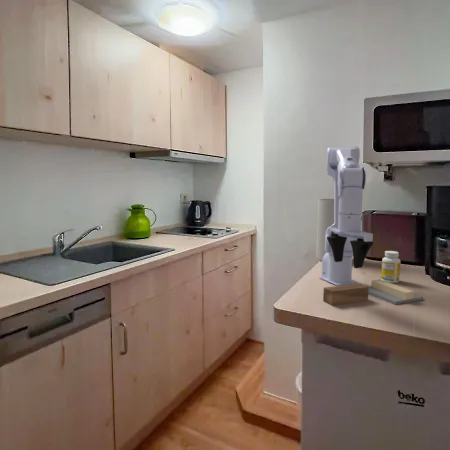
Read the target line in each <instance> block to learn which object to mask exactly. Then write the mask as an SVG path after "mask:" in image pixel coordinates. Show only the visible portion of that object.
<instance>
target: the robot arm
mask: <svg viewBox="0 0 450 450" xmlns="http://www.w3.org/2000/svg"><path fill="white" fill-rule="evenodd" d="M360 153H361V150H360V147H359V146H356V145H355V146H338V147H337V146H336V147H335V146H333V147H331V146H329V147H328V148H327V150H326V172H327V175H328V176H330V177H331V178H332V180H333V184H334V186H333V190H334V191H333V193H334V194H333V195H334V196H333V199H334V224H333V225H331V226H330V227H328V228H327V230H326V233H325V251H326V254H325V255H324V256H323V259H322V261H321V262H322V263H321V276H319V279H322V281H326V282H327V283H330V284H333V285H334V286H340V285H348V284H356V283H359V282H358V280H357V281H356V280H355V279H352V278H353V277H352V276H353V275H352V274H353V267H354V268H355V269H360V268H363V265H364V263H365V259H366V257H367V254H368V253H369V251H370V249H371V248H372V247H373V245H374V240H373V238H374V233H371V232H367V231H363V230H362V215H363V213H362V212H363V211H362V209H363V193H364V190H365V187H366V184H367V173H366V167H364V166H361V167H360V164H359V163H360V159H361V158H360V156H361V155H360Z"/></svg>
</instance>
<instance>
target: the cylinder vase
mask: <svg viewBox="0 0 450 450" xmlns="http://www.w3.org/2000/svg"><path fill="white" fill-rule="evenodd" d="M316 220H317V221H316V244H315V246H316V248H315V252H316V253H315V258H316V259H317V260H319V261H321V262H322V259H323V256H324V255H325V254H326V251H325V233H326V230H327V228H328V227H330V226H331V225H333V224H334V198H318V199H317V217H316Z"/></svg>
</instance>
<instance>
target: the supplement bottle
mask: <svg viewBox="0 0 450 450" xmlns="http://www.w3.org/2000/svg"><path fill="white" fill-rule="evenodd" d="M399 254H400V253H399V252H398V251H397V250H395V251H394V250H385V251H384V257H382V260H381V271H380V273H381V274H380V275H381V276H380V280H383V281H385V282H388V283H391V284H396V283H399V281H400V275H401V274H400V273H401V259H400V258H399V256H400V255H399Z"/></svg>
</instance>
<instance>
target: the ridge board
mask: <svg viewBox="0 0 450 450" xmlns="http://www.w3.org/2000/svg"><path fill="white" fill-rule="evenodd" d="M368 287H369V290H368V295H372V297H373V296H374V297H375V298H378V299H381V300H383V301H386V302H388V303H390V304H393V305H401V304H405V303H412V302H418V301H419V302H420V301H423V300H424V296H421V295H418V294H415V291H414V290H411V289H408V288H405V287H402V286H399V285H396V284H395V283H388V282H385V281H383V280H381V278H380V279H372V280H371V286H368Z"/></svg>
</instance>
